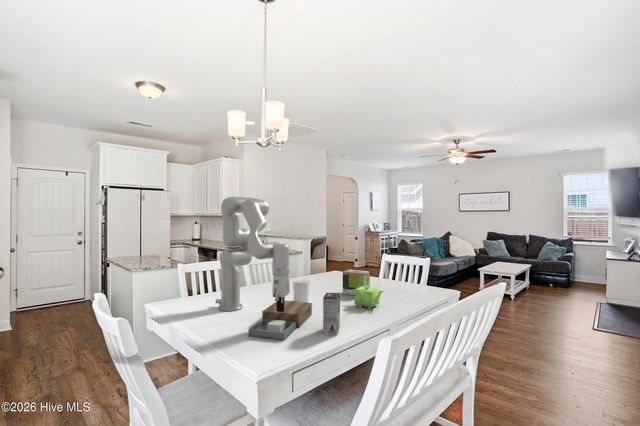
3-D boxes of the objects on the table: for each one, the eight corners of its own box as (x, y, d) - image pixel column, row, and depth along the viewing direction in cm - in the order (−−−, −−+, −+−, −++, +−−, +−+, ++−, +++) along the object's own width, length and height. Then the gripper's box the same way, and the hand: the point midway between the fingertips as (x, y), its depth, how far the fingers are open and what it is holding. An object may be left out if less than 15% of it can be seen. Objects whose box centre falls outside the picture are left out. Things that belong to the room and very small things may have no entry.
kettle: (384, 309, 177) (384, 288, 177) (359, 311, 174) (359, 289, 174) (373, 301, 192) (373, 282, 192) (350, 303, 189) (350, 283, 189)
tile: (273, 319, 148) (272, 326, 148) (267, 324, 142) (267, 330, 142) (285, 320, 146) (285, 327, 146) (280, 325, 140) (280, 332, 140)
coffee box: (325, 327, 149) (326, 291, 149) (340, 328, 148) (340, 292, 148) (322, 334, 140) (323, 297, 140) (337, 335, 139) (337, 297, 139)
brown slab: (262, 323, 152) (262, 311, 152) (278, 311, 172) (278, 300, 172) (299, 327, 148) (299, 314, 148) (311, 314, 167) (311, 302, 167)
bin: (248, 336, 137) (248, 329, 137) (262, 325, 151) (262, 318, 151) (284, 340, 133) (284, 333, 133) (295, 328, 146) (295, 322, 146)
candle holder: (311, 302, 189) (312, 281, 189) (295, 304, 185) (295, 283, 185) (306, 298, 198) (306, 278, 198) (290, 300, 194) (290, 279, 194)
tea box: (370, 294, 211) (370, 271, 210) (363, 297, 202) (363, 273, 202) (349, 291, 219) (349, 268, 218) (341, 294, 210) (342, 270, 210)
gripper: (282, 274, 142) (282, 317, 142) (294, 268, 156) (293, 307, 156) (266, 273, 143) (265, 315, 143) (279, 268, 158) (278, 306, 158)
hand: (280, 311), depth 150 cm, fingers closed
